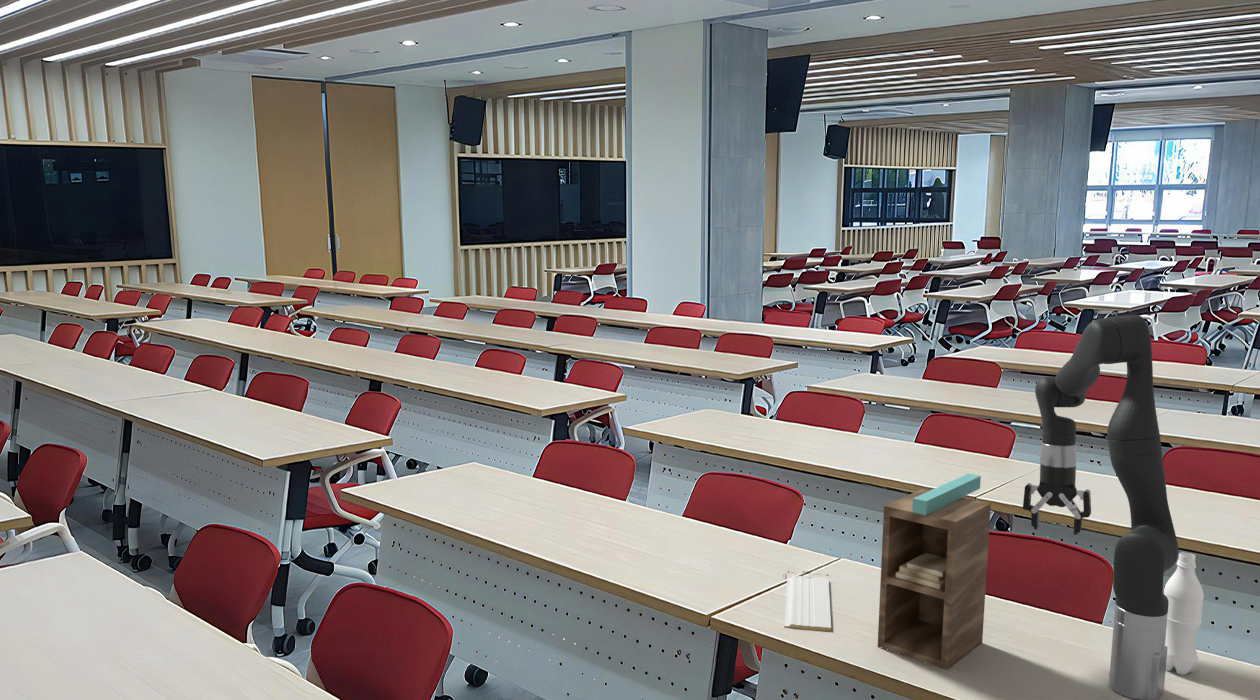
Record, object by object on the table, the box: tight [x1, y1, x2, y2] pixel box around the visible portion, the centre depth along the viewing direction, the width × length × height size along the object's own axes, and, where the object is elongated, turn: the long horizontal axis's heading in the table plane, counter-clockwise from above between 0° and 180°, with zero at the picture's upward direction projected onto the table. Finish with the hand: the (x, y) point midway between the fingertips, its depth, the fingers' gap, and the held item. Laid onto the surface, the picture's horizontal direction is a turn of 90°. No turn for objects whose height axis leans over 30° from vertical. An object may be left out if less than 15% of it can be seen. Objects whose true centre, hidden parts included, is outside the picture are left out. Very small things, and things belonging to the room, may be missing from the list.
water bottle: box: [1163, 551, 1205, 675], centre depth 197 cm, size 7×7×25 cm
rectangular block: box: [912, 473, 982, 515], centre depth 209 cm, size 3×28×3 cm, turn 137°
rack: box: [877, 488, 992, 671], centre depth 207 cm, size 16×18×32 cm
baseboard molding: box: [782, 570, 832, 632], centre depth 232 cm, size 31×3×12 cm
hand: (1055, 531), depth 220 cm, fingers open, 8 cm apart
